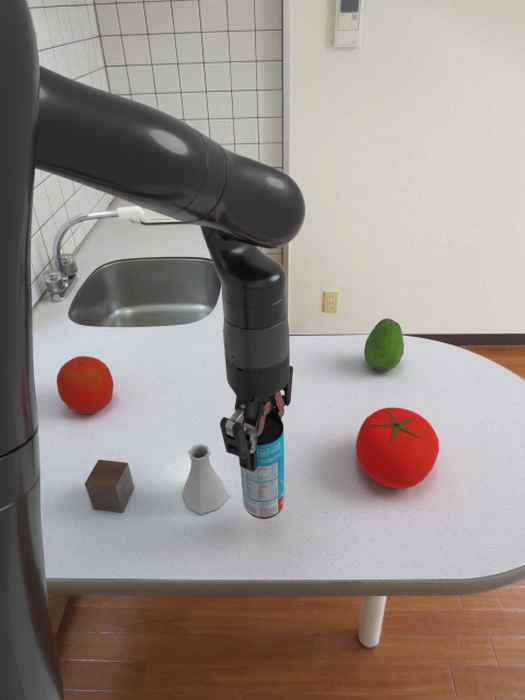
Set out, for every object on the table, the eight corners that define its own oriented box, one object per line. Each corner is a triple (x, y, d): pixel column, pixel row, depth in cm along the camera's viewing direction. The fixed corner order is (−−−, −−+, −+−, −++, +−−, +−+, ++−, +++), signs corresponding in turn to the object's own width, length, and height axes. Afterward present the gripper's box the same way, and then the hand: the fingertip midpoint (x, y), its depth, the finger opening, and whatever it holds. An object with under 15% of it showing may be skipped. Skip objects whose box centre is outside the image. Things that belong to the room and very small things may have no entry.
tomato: (368, 430, 95) (373, 385, 89) (441, 452, 90) (451, 406, 84) (340, 485, 85) (344, 438, 79) (420, 514, 80) (430, 466, 74)
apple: (128, 400, 104) (117, 353, 98) (88, 430, 98) (74, 381, 91) (94, 384, 109) (81, 337, 103) (54, 411, 102) (38, 363, 96)
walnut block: (122, 513, 82) (115, 487, 78) (93, 509, 83) (84, 483, 79) (134, 488, 86) (128, 462, 83) (106, 484, 87) (98, 459, 83)
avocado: (398, 382, 106) (406, 332, 99) (360, 375, 108) (364, 326, 102) (402, 359, 112) (409, 311, 106) (366, 354, 115) (370, 306, 108)
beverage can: (293, 503, 76) (293, 425, 67) (264, 528, 72) (261, 450, 64) (263, 481, 79) (260, 405, 71) (235, 505, 76) (228, 428, 67)
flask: (211, 471, 88) (205, 427, 83) (237, 497, 84) (232, 453, 78) (174, 494, 85) (165, 450, 79) (199, 522, 80) (192, 477, 74)
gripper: (260, 311, 67) (264, 411, 77) (193, 371, 57) (207, 477, 66) (313, 325, 64) (310, 428, 73) (252, 391, 54) (258, 500, 63)
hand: (261, 451), depth 70 cm, fingers closed on beverage can, 6 cm apart
